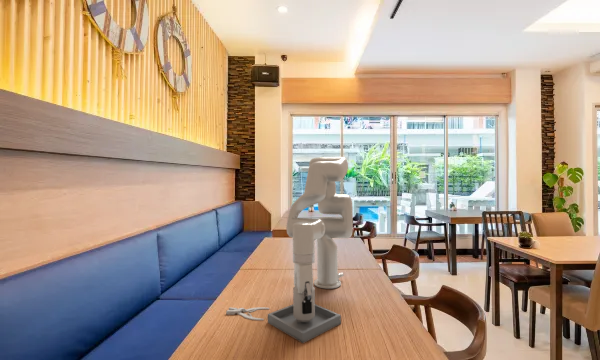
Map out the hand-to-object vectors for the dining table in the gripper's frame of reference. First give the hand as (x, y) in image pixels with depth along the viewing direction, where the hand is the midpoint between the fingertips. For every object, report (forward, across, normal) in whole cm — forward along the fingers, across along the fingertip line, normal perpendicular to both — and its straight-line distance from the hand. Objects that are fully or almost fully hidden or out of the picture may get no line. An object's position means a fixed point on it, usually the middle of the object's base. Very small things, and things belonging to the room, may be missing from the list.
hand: (304, 307), depth 106 cm
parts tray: (+5, 0, 0) cm, 5 cm away
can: (+4, 0, 0) cm, 4 cm away
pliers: (+6, -12, -19) cm, 23 cm away
